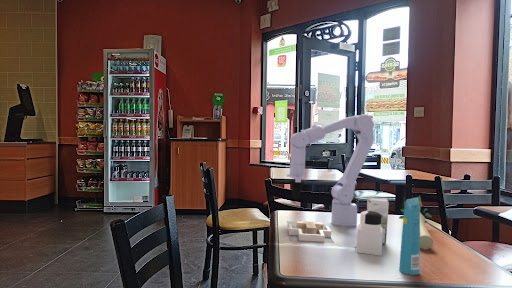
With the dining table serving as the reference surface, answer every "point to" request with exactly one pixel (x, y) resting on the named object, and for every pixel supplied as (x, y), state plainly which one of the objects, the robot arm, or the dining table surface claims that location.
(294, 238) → the board
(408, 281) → the dining table surface
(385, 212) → the syrup box
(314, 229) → the t block
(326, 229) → the dock
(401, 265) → the tube
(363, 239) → the medicine bottle
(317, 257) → the dining table surface
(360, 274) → the dining table surface
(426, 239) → the flower vase
